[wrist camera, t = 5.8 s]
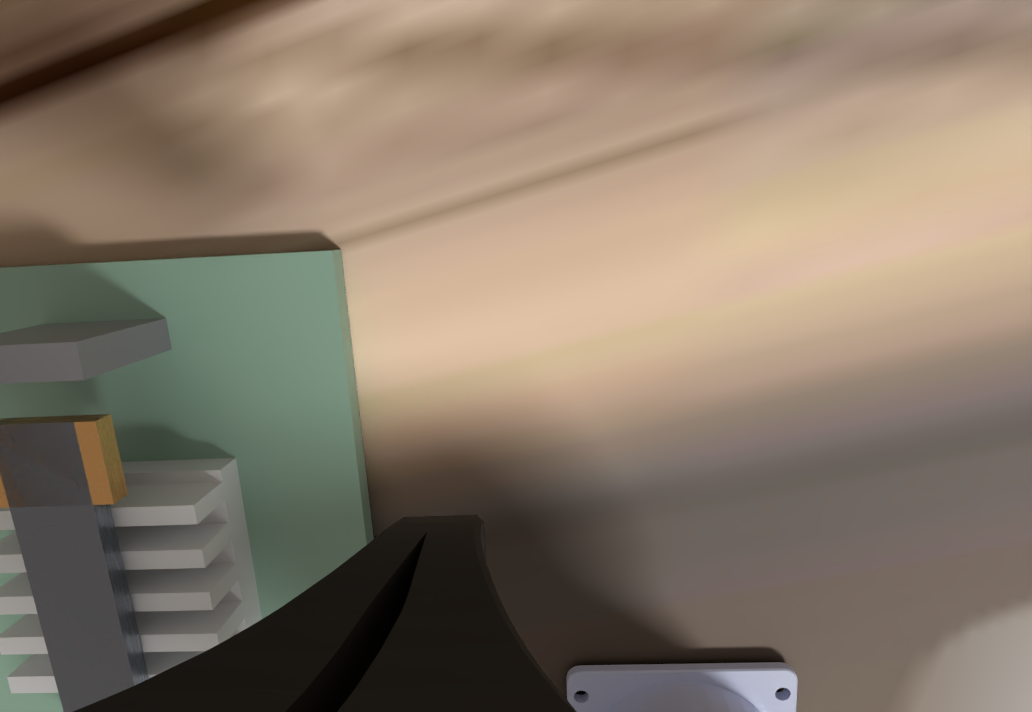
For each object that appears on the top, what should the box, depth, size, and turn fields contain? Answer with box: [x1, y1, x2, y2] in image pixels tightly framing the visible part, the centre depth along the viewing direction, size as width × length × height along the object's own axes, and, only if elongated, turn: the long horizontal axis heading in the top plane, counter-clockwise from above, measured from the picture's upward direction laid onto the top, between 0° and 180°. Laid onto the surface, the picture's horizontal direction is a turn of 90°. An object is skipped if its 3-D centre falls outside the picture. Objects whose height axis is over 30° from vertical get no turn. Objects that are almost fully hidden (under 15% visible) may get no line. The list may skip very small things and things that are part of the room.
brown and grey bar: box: [0, 414, 149, 712], centre depth 18 cm, size 13×4×2 cm, turn 3°
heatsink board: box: [0, 249, 374, 712], centre depth 19 cm, size 20×15×5 cm
